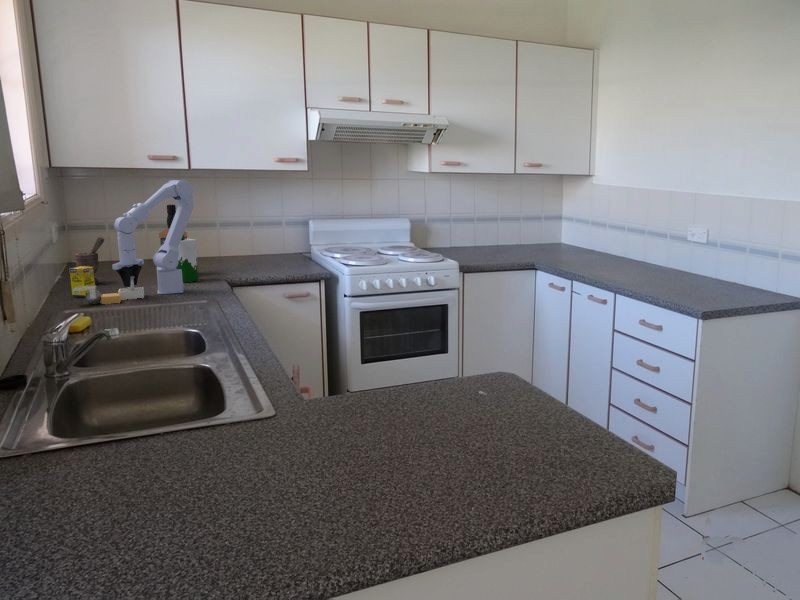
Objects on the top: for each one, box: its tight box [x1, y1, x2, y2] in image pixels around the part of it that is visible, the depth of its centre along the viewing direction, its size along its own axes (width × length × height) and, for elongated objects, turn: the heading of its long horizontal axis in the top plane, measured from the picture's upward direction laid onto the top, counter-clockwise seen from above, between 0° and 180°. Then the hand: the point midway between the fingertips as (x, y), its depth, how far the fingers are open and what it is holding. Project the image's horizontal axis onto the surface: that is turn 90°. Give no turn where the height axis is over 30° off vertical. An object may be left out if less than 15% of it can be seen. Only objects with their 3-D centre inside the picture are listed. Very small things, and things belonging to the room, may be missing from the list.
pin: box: [126, 276, 136, 291], centre depth 229 cm, size 3×3×7 cm
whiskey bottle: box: [158, 204, 189, 247], centre depth 272 cm, size 10×10×32 cm
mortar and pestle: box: [74, 236, 105, 285], centre depth 255 cm, size 12×9×20 cm
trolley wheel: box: [74, 285, 103, 305], centre depth 217 cm, size 8×5×6 cm, turn 111°
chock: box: [100, 293, 122, 305], centre depth 221 cm, size 6×5×3 cm
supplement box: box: [69, 266, 96, 298], centre depth 232 cm, size 6×6×11 cm
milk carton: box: [176, 235, 200, 284], centre depth 261 cm, size 9×9×20 cm
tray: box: [117, 286, 145, 301], centre depth 229 cm, size 8×7×3 cm
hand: (130, 285), depth 229 cm, fingers closed on pin, 3 cm apart
